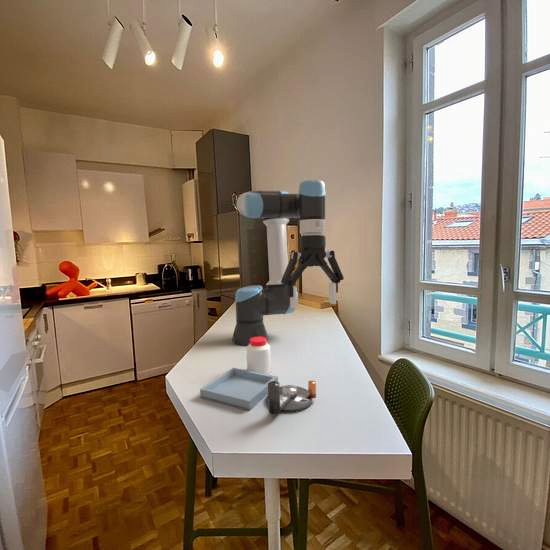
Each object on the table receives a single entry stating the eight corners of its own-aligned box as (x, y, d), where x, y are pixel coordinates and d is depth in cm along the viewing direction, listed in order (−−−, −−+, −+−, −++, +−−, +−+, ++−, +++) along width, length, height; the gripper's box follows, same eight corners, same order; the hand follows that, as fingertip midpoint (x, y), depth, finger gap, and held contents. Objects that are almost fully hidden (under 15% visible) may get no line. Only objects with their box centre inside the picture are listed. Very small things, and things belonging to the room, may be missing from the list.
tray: (200, 397, 87) (199, 388, 87) (233, 375, 101) (233, 367, 101) (249, 410, 79) (249, 401, 79) (278, 384, 94) (277, 376, 93)
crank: (286, 390, 87) (285, 365, 86) (299, 393, 85) (299, 368, 84) (264, 412, 76) (263, 384, 75) (279, 416, 74) (278, 387, 73)
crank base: (259, 405, 82) (258, 386, 81) (279, 386, 92) (279, 369, 92) (304, 417, 76) (304, 396, 75) (320, 395, 87) (320, 377, 86)
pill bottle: (262, 378, 98) (261, 344, 97) (242, 373, 102) (241, 340, 101) (275, 369, 105) (274, 337, 104) (256, 365, 109) (255, 334, 108)
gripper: (279, 234, 84) (281, 312, 87) (355, 233, 94) (355, 303, 96) (268, 235, 91) (270, 307, 93) (340, 234, 101) (340, 299, 103)
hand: (313, 305), depth 95 cm, fingers open, 13 cm apart
